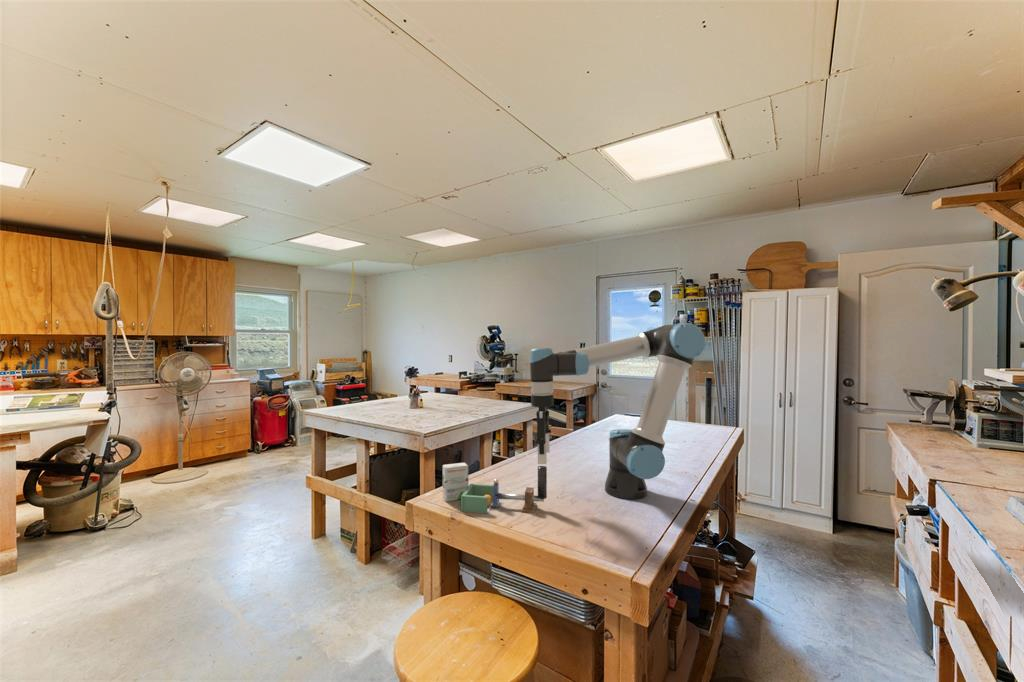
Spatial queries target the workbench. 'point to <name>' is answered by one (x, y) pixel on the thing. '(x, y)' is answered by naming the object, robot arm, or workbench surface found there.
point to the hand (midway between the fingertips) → (544, 457)
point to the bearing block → (529, 501)
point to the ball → (489, 500)
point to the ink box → (454, 481)
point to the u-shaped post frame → (541, 495)
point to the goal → (476, 498)
